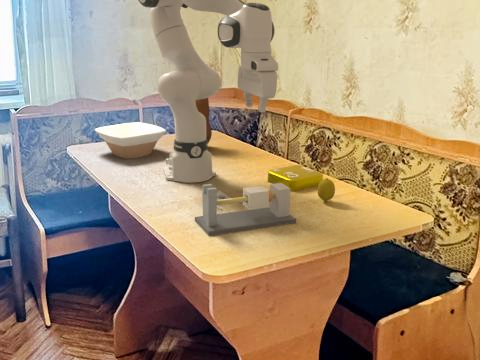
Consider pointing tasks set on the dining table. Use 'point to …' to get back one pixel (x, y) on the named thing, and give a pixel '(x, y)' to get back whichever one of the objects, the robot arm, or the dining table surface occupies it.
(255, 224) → the cord rig
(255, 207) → the sleeve
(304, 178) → the element tile
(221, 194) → the pliers
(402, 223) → the dining table surface
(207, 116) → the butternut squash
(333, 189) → the lemon
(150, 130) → the bowl
